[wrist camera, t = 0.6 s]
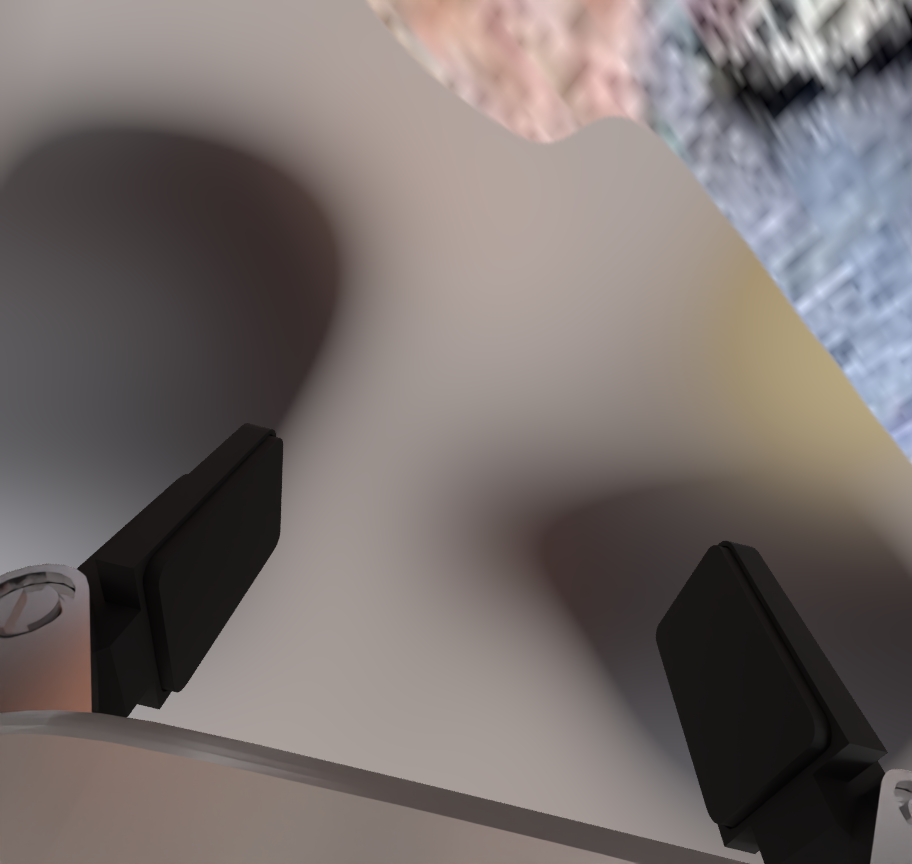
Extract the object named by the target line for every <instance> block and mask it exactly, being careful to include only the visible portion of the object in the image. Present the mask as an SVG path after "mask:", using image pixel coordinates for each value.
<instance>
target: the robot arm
mask: <svg viewBox="0 0 912 864" xmlns="http://www.w3.org/2000/svg"><path fill="white" fill-rule="evenodd" d="M282 462H283V441H282V439H281V438H278V437H276V433H275V431H274V430H273V429H270V428H265V427H261V426H257V425H253V424H249V423H246V424H244V425H242V426H241V427H240V428H239V429H238V430H237V431H236V432H235V433H233V434H232V436H230V437H229V438H228V439H227V440H226V441H225V442H224V443H222V444H221V445H220V446H219V447H218V448H217V449H216V450H215V451H214V452H212V453H211V454H210V455H209V456H208V457H207V458H206V459H205V460H204V461H202V462H201V463H200V464H199V465H198V466H197V467H196V468H195V469H194V470H193V471H191V472H190V473H189V474H185V475H183V476H182V477H180V478H179V479H177V480H176V481H175V482H174V483H173V484H171V486H169V487H168V488H167V489H166V490H165V491H164V492H163V493H162V494H160V495H159V496H158V497H157V498H156V499H155V500H153V501H152V502H151V503H150V504H149V505H148V506H147V507H146V508H144V509H143V510H142V511H141V512H140V513H139V514H138V515H137V516H135V517H134V518H133V519H132V520H131V521H130V522H129V523H128V524H126V525H125V527H123V528H122V529H121V530H120V531H119V532H117V533H116V534H115V535H114V536H113V537H112V538H111V539H110V540H109V541H107V542H106V543H105V544H104V545H103V546H102V547H101V548H100V549H98V550H97V551H96V552H95V553H94V554H93V555H92V556H91V557H89V558H88V559H87V560H86V561H85V562H84V563H83V564H82V565H80V566H79V567H78V568H77V569H75V568H72V567H69V566H66V565H59V564H42V565H34V566H28V567H24V568H21V569H17V570H14V571H11V572H7V573H5V574H3V575H1V576H0V864H748V863H744V862H740V861H736V860H732V859H728V858H724V857H720V856H716V855H712V854H708V853H704V852H700V851H696V850H692V849H688V848H684V847H680V846H676V845H671V844H668V843H664V842H659V841H656V840H652V839H648V838H644V837H639V836H636V835H632V834H628V833H624V832H620V831H616V830H611V829H607V828H603V827H599V826H595V825H591V824H587V823H583V822H579V821H575V820H571V819H567V818H562V817H558V816H554V815H550V814H545V813H542V812H537V811H533V810H529V809H525V808H521V807H517V806H513V805H509V804H505V803H501V802H496V801H493V800H488V799H484V798H480V797H476V796H472V795H468V794H463V793H459V792H455V791H451V790H447V789H443V788H438V787H435V786H430V785H426V784H422V783H418V782H414V781H409V780H406V779H401V778H397V777H393V776H388V775H384V774H380V773H376V772H371V771H368V770H363V769H359V768H354V767H351V766H346V765H342V764H338V763H334V762H330V761H325V760H321V759H317V758H312V757H308V756H304V755H300V754H296V753H291V752H287V751H283V750H279V749H274V748H270V747H266V746H262V745H258V744H253V743H249V742H244V741H240V740H235V739H230V738H226V737H221V736H216V735H212V734H207V733H202V732H198V731H193V730H189V729H184V728H179V727H175V726H170V725H166V724H161V723H156V722H151V721H145V720H138V719H133V718H126V717H128V716H129V714H130V713H131V711H132V710H133V709H134V707H135V706H136V705H137V704H139V705H143V706H148V707H152V708H156V709H160V708H161V707H162V705H163V704H164V702H165V701H166V699H167V698H168V696H169V695H170V693H171V692H172V691H174V692H179V691H181V690H182V689H183V688H184V687H185V685H186V684H187V683H188V681H189V680H190V678H191V677H192V675H193V674H194V672H195V670H196V669H197V667H198V666H199V664H200V663H201V661H202V660H203V658H204V657H205V655H206V654H207V652H208V651H209V649H210V648H211V646H212V644H213V643H214V641H215V640H216V638H217V637H218V635H219V633H220V632H221V631H222V629H223V628H224V626H225V624H226V623H227V621H228V620H229V618H230V617H231V615H232V614H233V612H234V611H235V609H236V608H237V606H238V605H239V603H240V601H241V600H242V598H243V597H244V595H245V594H246V592H247V591H248V589H249V588H250V586H251V585H252V583H253V581H254V580H255V578H256V577H257V575H258V574H259V572H260V571H261V569H262V568H263V566H264V565H265V563H266V562H267V560H268V558H269V557H270V555H271V554H272V552H273V551H274V549H275V547H276V545H277V543H278V540H279V536H280V524H281V493H282V464H283V463H282ZM656 641H657V645H658V649H659V652H660V655H661V659H662V662H663V665H664V669H665V672H666V675H667V679H668V682H669V685H670V689H671V692H672V695H673V698H674V702H675V705H676V708H677V712H678V715H679V718H680V722H681V725H682V728H683V731H684V735H685V738H686V742H687V745H688V748H689V752H690V755H691V758H692V761H693V765H694V768H695V771H696V775H697V778H698V781H699V785H700V788H701V791H702V795H703V798H704V801H705V805H706V808H707V810H708V813H709V815H710V817H711V819H712V820H713V821H714V822H715V823H717V824H718V827H719V830H720V834H721V837H722V840H723V843H724V846H725V847H728V848H733V849H737V850H741V851H745V852H749V853H753V854H755V853H757V852H758V851H759V850H760V852H761V855H762V858H763V860H764V863H765V864H912V772H910V771H907V770H900V769H893V770H890V771H887V772H884V771H883V769H882V767H881V766H880V764H879V763H878V760H879V759H880V758H881V757H883V756H884V755H885V754H887V753H888V752H887V751H886V749H885V747H884V746H883V744H882V743H881V741H880V740H879V738H878V737H877V735H876V733H875V732H874V730H873V729H872V728H871V726H870V724H869V723H868V721H867V720H866V718H865V717H864V715H863V713H862V712H861V710H860V709H859V707H858V706H857V704H856V702H855V701H854V699H853V698H852V696H851V695H850V693H849V692H848V690H847V689H846V687H845V685H844V684H843V683H842V681H841V679H840V678H839V676H838V675H837V673H836V671H835V670H834V669H833V667H832V665H831V664H830V662H829V661H828V659H827V658H826V656H825V654H824V653H823V651H822V650H821V649H820V647H819V645H818V644H817V642H816V641H815V639H814V637H813V636H812V634H811V633H810V631H809V630H808V628H807V627H806V625H805V624H804V622H803V620H802V619H801V617H800V616H799V614H798V613H797V611H796V610H795V608H794V606H793V605H792V603H791V602H790V600H789V599H788V597H787V596H786V594H785V593H784V591H783V590H782V588H781V586H780V585H779V583H778V582H777V580H776V579H775V577H774V575H773V574H772V572H771V571H770V569H769V568H768V566H767V565H766V563H765V562H764V560H763V559H762V557H761V555H760V554H759V552H758V551H757V550H756V549H755V548H753V547H750V546H746V545H742V544H737V543H733V542H729V541H722V542H721V543H719V544H718V545H713V546H712V547H710V548H709V549H708V551H707V552H706V554H705V555H704V557H703V558H702V560H701V561H700V563H699V564H698V566H697V567H696V569H695V570H694V572H693V573H692V575H691V576H690V578H689V579H688V581H687V582H686V584H685V586H684V587H683V589H682V590H681V592H680V593H679V595H678V596H677V598H676V599H675V601H674V602H673V604H672V605H671V607H670V608H669V610H668V611H667V613H666V614H665V616H664V617H663V619H662V620H661V622H660V623H659V625H658V628H657V632H656Z"/></svg>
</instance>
